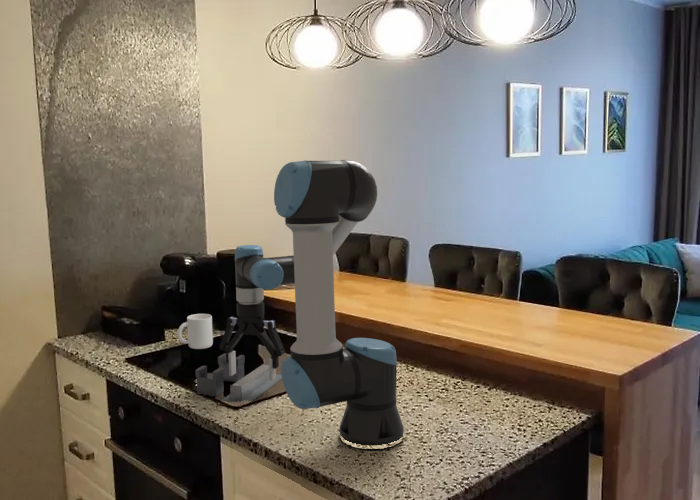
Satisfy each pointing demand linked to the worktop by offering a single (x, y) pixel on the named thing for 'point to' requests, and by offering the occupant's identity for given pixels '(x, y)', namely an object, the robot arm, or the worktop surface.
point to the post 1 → (210, 381)
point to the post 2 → (225, 365)
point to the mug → (198, 331)
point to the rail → (250, 383)
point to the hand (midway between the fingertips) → (252, 376)
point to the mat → (259, 391)
